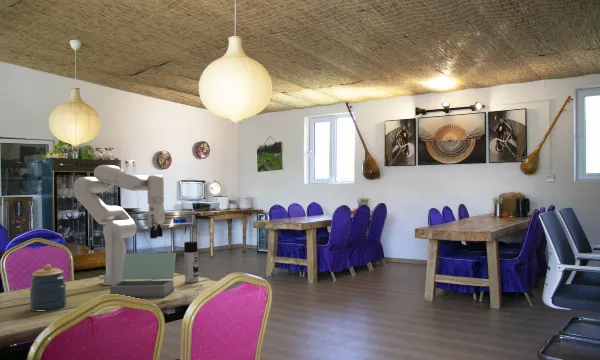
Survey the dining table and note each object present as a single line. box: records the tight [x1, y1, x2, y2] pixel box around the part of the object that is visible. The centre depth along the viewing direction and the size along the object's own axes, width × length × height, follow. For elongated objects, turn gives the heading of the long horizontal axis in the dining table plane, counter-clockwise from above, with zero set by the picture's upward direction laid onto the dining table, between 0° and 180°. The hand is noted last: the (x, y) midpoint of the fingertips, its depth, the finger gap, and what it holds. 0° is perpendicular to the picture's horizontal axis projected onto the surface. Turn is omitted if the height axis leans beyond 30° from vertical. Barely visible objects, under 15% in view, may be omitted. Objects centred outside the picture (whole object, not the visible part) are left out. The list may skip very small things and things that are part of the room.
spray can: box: [183, 240, 200, 284], centre depth 236 cm, size 7×7×20 cm
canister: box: [29, 263, 67, 311], centre depth 189 cm, size 13×13×18 cm
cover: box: [122, 252, 177, 281], centre depth 217 cm, size 24×12×1 cm
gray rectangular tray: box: [109, 279, 174, 299], centre depth 209 cm, size 24×12×5 cm, turn 87°
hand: (156, 237), depth 227 cm, fingers open, 6 cm apart
